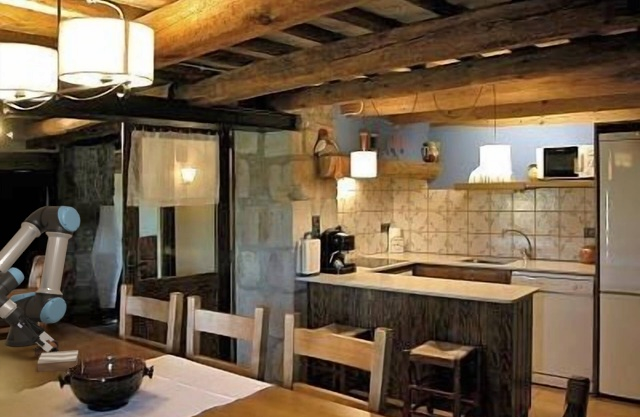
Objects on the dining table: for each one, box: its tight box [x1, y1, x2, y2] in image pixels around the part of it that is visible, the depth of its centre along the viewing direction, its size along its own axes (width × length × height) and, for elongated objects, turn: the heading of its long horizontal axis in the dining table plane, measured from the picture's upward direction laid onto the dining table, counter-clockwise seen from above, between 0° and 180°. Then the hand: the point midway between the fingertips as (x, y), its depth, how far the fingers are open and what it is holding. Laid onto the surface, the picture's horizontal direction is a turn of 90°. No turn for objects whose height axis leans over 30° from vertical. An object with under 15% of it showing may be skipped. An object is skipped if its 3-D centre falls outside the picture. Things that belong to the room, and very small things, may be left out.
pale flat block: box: [37, 349, 80, 373], centre depth 246 cm, size 14×14×4 cm
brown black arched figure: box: [33, 339, 60, 358], centre depth 260 cm, size 12×10×8 cm
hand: (51, 346), depth 260 cm, fingers closed on brown black arched figure, 11 cm apart
